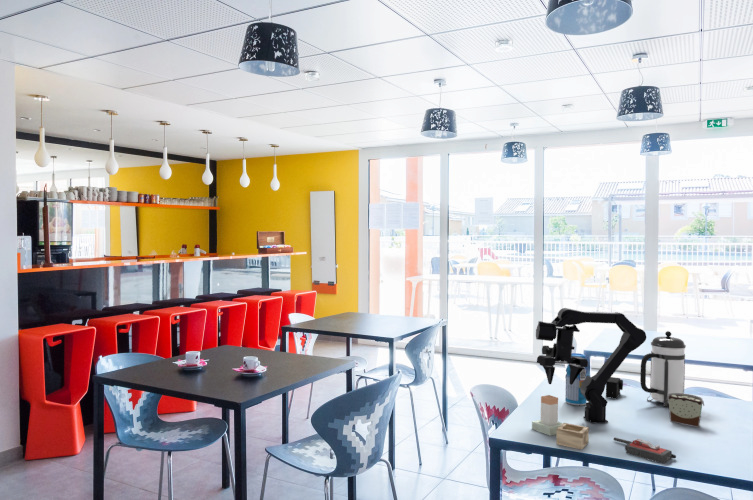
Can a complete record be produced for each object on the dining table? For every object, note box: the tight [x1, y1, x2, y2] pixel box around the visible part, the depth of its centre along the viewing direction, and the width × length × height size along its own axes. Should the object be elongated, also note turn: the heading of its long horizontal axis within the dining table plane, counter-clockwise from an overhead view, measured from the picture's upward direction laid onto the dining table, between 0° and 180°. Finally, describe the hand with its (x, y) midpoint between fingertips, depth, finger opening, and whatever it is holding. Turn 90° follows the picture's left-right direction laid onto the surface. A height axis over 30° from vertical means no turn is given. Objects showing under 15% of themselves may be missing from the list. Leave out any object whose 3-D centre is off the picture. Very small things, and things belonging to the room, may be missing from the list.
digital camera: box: [605, 376, 624, 399], centre depth 247 cm, size 10×5×7 cm, turn 149°
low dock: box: [531, 419, 564, 436], centre depth 197 cm, size 8×8×3 cm
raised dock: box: [555, 422, 590, 450], centre depth 184 cm, size 8×8×5 cm
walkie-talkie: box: [613, 437, 677, 464], centre depth 177 cm, size 9×4×20 cm
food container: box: [667, 393, 705, 428], centre depth 210 cm, size 12×6×10 cm, turn 47°
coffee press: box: [640, 330, 687, 408], centre depth 235 cm, size 17×16×30 cm
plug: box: [540, 394, 559, 426], centre depth 197 cm, size 4×4×11 cm
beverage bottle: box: [564, 352, 588, 406], centre depth 233 cm, size 8×8×20 cm
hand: (560, 384), depth 211 cm, fingers open, 9 cm apart
